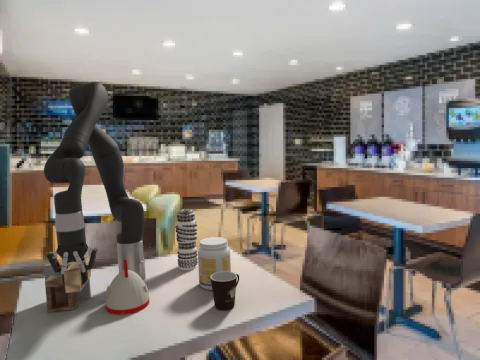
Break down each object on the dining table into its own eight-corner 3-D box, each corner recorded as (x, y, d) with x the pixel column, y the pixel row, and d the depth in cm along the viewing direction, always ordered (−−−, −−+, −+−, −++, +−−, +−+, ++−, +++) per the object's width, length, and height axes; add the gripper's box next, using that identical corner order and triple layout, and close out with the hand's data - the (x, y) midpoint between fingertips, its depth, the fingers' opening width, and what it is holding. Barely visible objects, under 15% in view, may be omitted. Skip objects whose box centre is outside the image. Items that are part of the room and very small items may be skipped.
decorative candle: (202, 264, 157) (200, 208, 155) (192, 271, 149) (189, 212, 146) (184, 262, 161) (181, 207, 158) (173, 269, 152) (170, 211, 149)
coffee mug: (218, 314, 111) (216, 283, 110) (207, 303, 118) (206, 274, 117) (250, 305, 116) (250, 276, 115) (238, 296, 124) (237, 268, 123)
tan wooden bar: (91, 275, 115) (89, 257, 114) (80, 291, 103) (78, 271, 102) (77, 277, 114) (76, 258, 113) (65, 292, 102) (63, 272, 101)
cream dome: (147, 293, 128) (145, 252, 127) (151, 309, 115) (149, 264, 114) (105, 300, 123) (102, 258, 122) (105, 318, 110) (102, 271, 109)
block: (78, 303, 121) (76, 273, 120) (73, 309, 116) (71, 279, 115) (53, 305, 120) (50, 275, 119) (47, 312, 115) (44, 281, 114)
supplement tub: (223, 276, 143) (222, 234, 141) (236, 287, 132) (235, 242, 130) (194, 282, 137) (192, 239, 136) (205, 293, 126) (203, 247, 125)
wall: (91, 297, 126) (88, 261, 125) (89, 298, 125) (87, 262, 123) (48, 300, 124) (45, 264, 123) (47, 302, 123) (43, 265, 121)
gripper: (99, 222, 108) (103, 277, 110) (48, 226, 106) (54, 281, 108) (93, 228, 101) (98, 286, 103) (39, 232, 99) (45, 292, 101)
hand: (75, 283), depth 105 cm, fingers closed on tan wooden bar, 4 cm apart
